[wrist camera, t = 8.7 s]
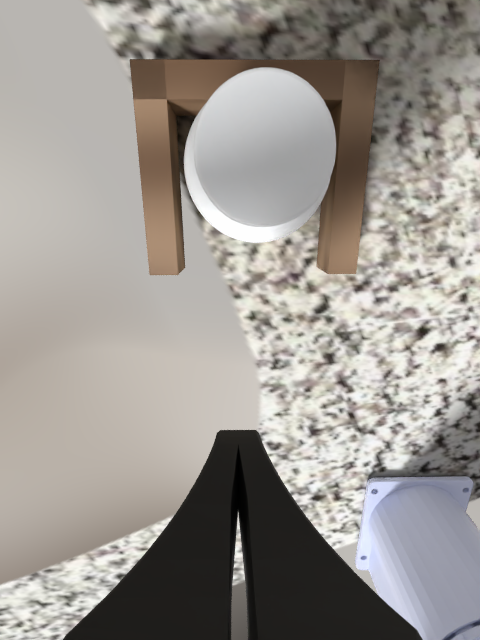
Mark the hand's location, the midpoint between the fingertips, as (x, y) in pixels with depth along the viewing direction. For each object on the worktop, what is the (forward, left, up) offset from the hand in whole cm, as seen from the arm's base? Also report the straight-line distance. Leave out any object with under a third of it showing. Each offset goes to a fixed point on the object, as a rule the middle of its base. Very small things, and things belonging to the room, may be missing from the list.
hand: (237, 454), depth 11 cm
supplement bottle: (+9, -1, -11) cm, 14 cm away
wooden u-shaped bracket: (+9, -1, -10) cm, 14 cm away
